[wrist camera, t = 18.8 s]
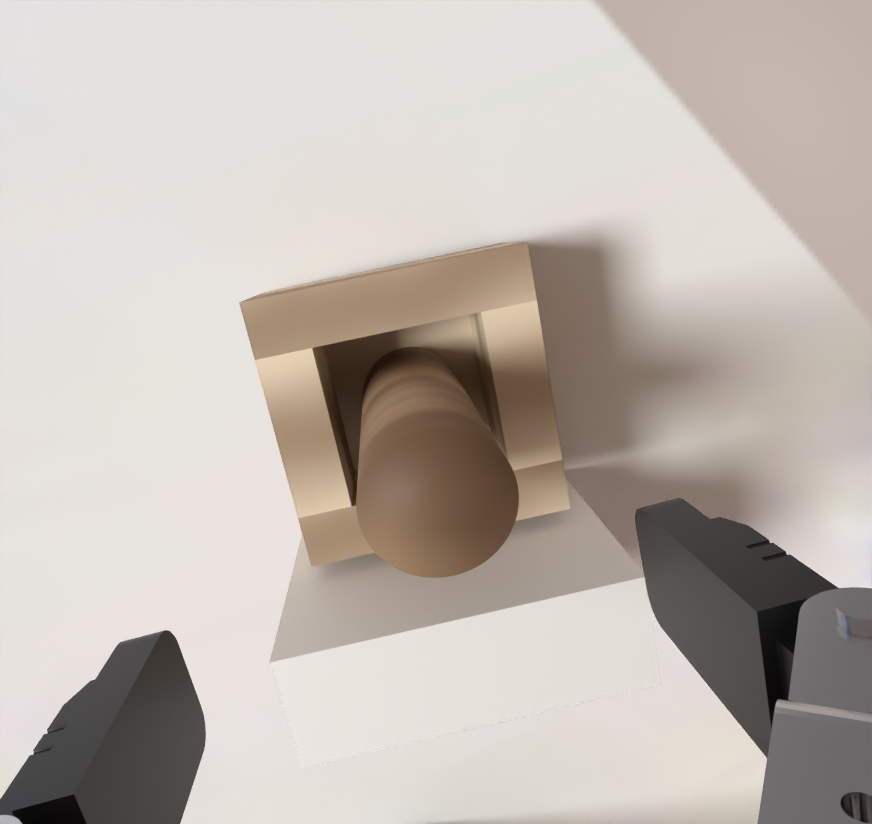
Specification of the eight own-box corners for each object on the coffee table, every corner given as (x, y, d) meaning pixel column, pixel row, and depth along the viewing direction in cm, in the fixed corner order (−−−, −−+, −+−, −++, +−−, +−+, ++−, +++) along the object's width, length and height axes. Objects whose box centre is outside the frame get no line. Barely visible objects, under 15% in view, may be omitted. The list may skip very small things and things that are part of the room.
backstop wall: (574, 551, 32) (661, 684, 22) (324, 607, 31) (301, 768, 22) (561, 472, 31) (646, 576, 21) (303, 530, 30) (269, 662, 21)
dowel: (466, 429, 29) (530, 558, 17) (374, 449, 28) (375, 593, 17) (449, 338, 28) (504, 408, 16) (353, 358, 27) (339, 444, 16)
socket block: (539, 466, 30) (570, 508, 26) (321, 515, 30) (311, 566, 25) (501, 243, 28) (527, 242, 23) (263, 292, 28) (239, 302, 23)
